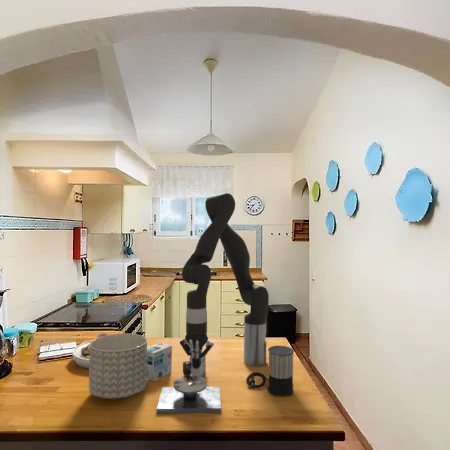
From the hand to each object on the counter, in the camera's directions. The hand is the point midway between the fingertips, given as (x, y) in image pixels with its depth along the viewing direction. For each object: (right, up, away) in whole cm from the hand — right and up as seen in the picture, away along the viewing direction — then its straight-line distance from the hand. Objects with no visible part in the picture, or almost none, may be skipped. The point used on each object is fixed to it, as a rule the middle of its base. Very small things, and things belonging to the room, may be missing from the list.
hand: (196, 367), depth 130 cm
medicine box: (0, -8, +12) cm, 14 cm away
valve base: (-1, -8, -10) cm, 12 cm away
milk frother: (+26, -8, +1) cm, 28 cm away
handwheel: (-2, -2, -7) cm, 8 cm away
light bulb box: (-16, -8, +12) cm, 22 cm away
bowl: (-40, -8, +29) cm, 50 cm away
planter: (-27, -7, -5) cm, 28 cm away
